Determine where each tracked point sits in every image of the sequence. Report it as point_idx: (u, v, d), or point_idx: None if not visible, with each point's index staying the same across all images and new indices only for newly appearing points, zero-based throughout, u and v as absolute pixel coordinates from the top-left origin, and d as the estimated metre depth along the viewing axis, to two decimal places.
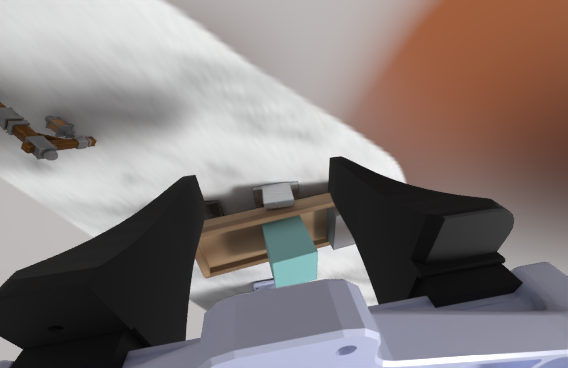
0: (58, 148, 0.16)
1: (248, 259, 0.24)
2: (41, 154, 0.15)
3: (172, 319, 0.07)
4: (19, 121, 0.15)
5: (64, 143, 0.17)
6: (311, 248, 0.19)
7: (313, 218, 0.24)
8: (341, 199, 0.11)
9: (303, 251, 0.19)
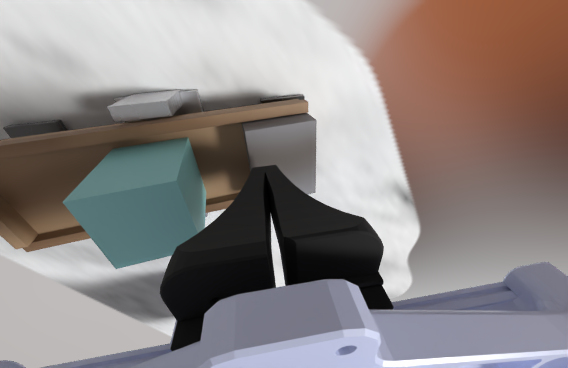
0: None
1: None
2: None
3: None
4: None
5: None
6: (168, 176, 0.09)
7: (219, 149, 0.14)
8: (271, 209, 0.11)
9: (147, 182, 0.09)
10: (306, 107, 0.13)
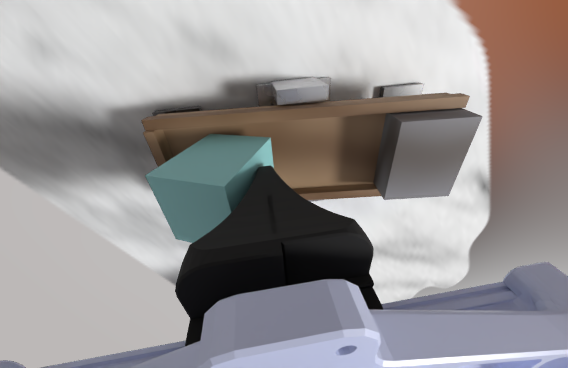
0: None
1: None
2: None
3: None
4: None
5: None
6: (221, 179, 0.09)
7: (355, 138, 0.14)
8: None
9: (204, 178, 0.09)
10: (465, 102, 0.12)
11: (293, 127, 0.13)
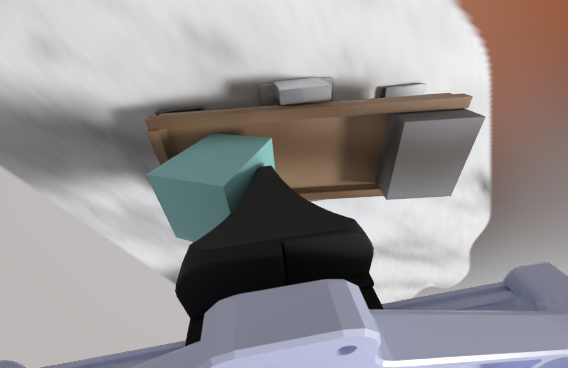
0: None
1: None
2: None
3: None
4: None
5: None
6: (221, 179, 0.09)
7: (358, 138, 0.14)
8: None
9: (203, 178, 0.09)
10: (468, 102, 0.12)
11: (296, 127, 0.13)
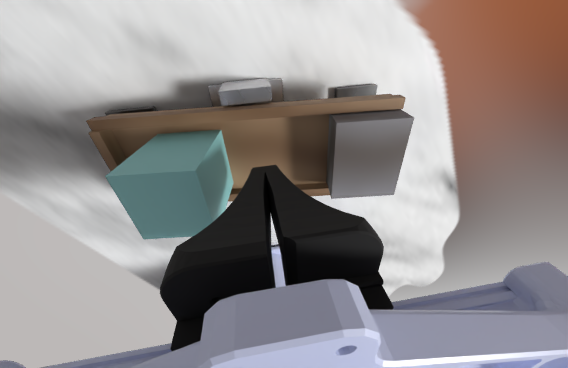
0: None
1: None
2: None
3: None
4: None
5: None
6: (190, 165, 0.10)
7: (303, 138, 0.14)
8: (271, 209, 0.11)
9: (172, 168, 0.10)
10: (402, 103, 0.12)
11: (240, 127, 0.14)
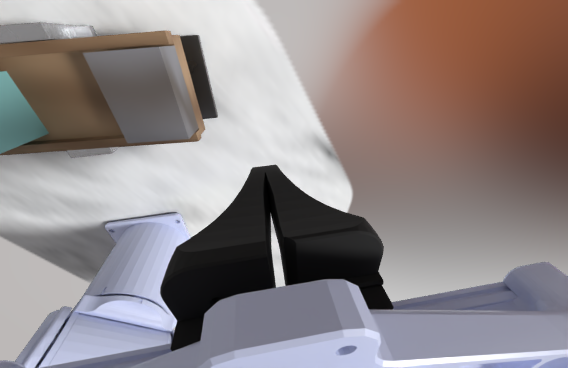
0: None
1: None
2: None
3: None
4: None
5: None
6: None
7: (95, 81, 0.14)
8: (271, 209, 0.11)
9: None
10: (165, 37, 0.12)
11: (25, 69, 0.13)
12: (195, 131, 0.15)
